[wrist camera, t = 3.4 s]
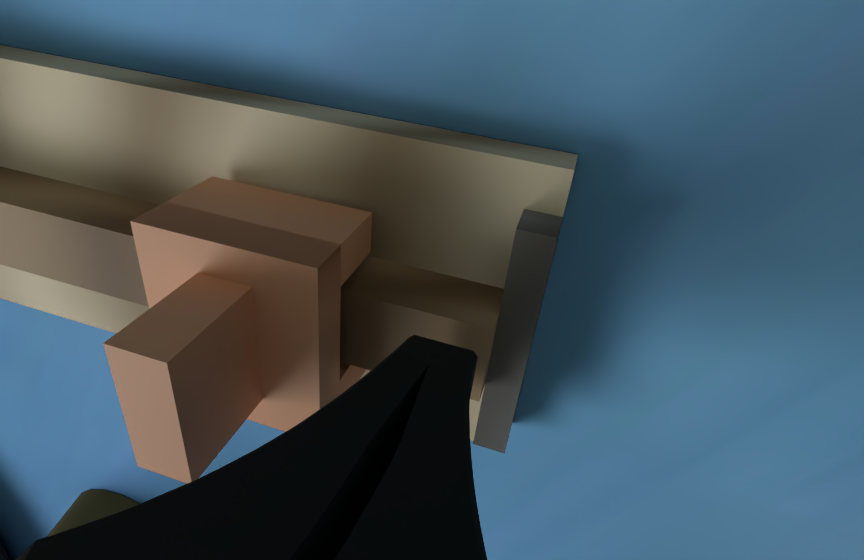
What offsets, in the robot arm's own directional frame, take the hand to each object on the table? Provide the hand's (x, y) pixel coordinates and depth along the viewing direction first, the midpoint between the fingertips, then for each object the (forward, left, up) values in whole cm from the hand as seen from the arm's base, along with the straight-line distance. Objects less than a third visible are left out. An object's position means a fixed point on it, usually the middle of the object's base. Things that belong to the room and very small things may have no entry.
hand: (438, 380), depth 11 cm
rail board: (+8, 0, -3) cm, 9 cm away
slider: (+4, 0, -2) cm, 5 cm away
